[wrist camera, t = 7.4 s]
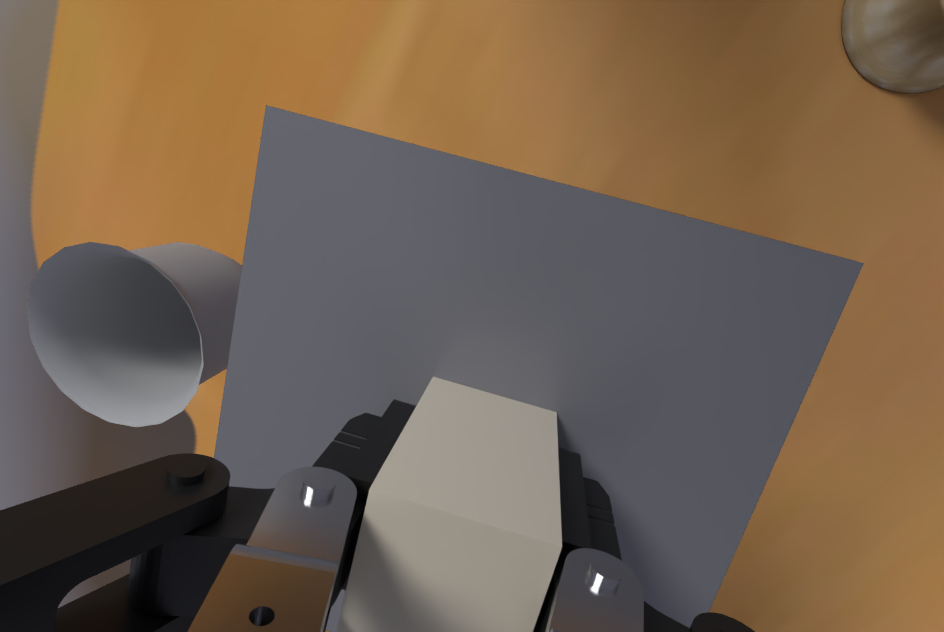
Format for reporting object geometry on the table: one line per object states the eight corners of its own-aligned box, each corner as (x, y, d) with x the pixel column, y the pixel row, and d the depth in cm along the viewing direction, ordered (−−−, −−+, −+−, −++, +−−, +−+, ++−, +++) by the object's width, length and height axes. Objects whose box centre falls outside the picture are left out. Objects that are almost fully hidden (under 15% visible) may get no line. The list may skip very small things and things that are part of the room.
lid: (306, 115, 15) (89, 60, 8) (814, 250, 14) (1086, 325, 7) (236, 539, 18) (40, 767, 11) (640, 665, 17) (704, 997, 10)
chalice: (380, 276, 38) (241, 358, 21) (310, 337, 40) (127, 460, 22) (306, 191, 37) (98, 201, 20) (238, 256, 39) (-8, 318, 22)
